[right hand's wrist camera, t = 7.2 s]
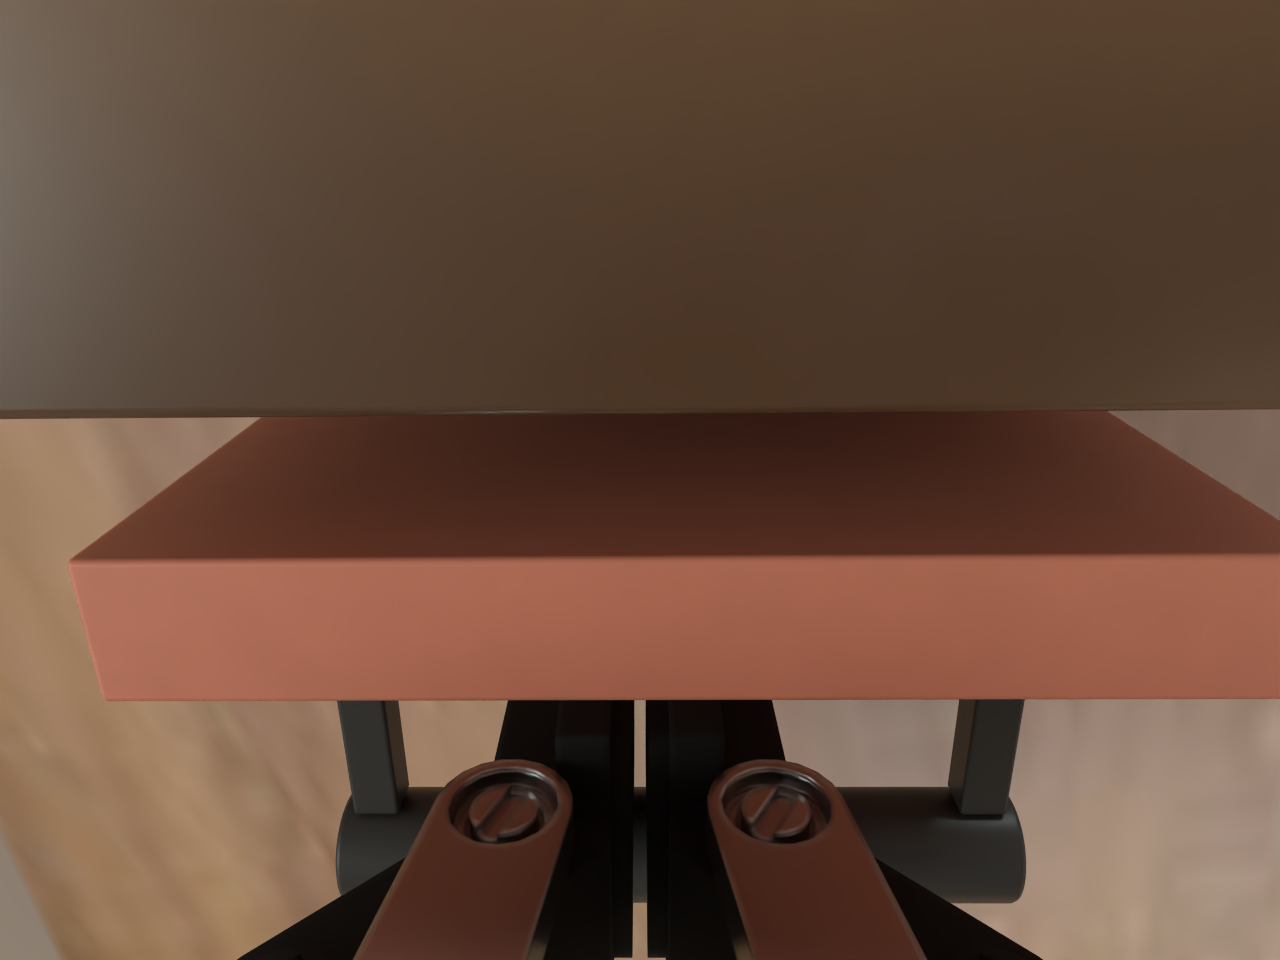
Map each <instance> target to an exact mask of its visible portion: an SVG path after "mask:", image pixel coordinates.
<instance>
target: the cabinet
mask: <svg viewBox="0 0 1280 960" xmlns="http://www.w3.org/2000/svg"><path fill="white" fill-rule="evenodd" d="M1241 409H1280V0H0V419H70V418H200V417H330V416H460V415H590V414H720V413H851V412H981V411H1111V410H1241Z"/></svg>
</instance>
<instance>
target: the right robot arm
mask: <svg viewBox="0 0 1280 960" xmlns="http://www.w3.org/2000/svg"><path fill="white" fill-rule="evenodd" d="M633 836H634V700H508V703H507V708H506V712H505V716H504V721H503V725H502V730H501V734H500V738H499V743H498V747H497V752H496V756H495V760H494V761H493V762H488V763H483V764H480V765H478V766H475V767H473V768H471V769H468V770H466V771H464V772H462V773H461V774H459V775H458V776H457V777H455V778H454V779H453V780H451V781H450V782H449V783H447V785H446V786H445V787H444V789H443V790H442V791H441V793H440V794H439V795H438V797H437V798H436V800H435V802H434V804H433V806H432V808H431V810H430V812H429V814H428V816H427V818H426V819H425V821H424V823H423V825H422V827H421V829H420V831H419V833H418V835H417V837H416V839H415V841H414V843H413V845H412V846H411V848H410V850H409V852H408V854H407V856H406V857H405V858H403V859H402V860H400V861H398V862H397V863H395V864H393V865H392V866H390V867H389V868H387V869H385V870H384V871H382V872H380V873H379V874H377V875H375V876H374V877H372V878H370V879H369V880H367V881H365V882H364V883H362V884H360V885H359V886H357V887H355V888H354V889H352V890H351V891H349V892H347V893H346V894H344V895H342V896H341V897H339V898H337V899H336V900H334V901H332V902H331V903H329V904H327V905H326V906H324V907H322V908H321V909H319V910H318V911H316V912H314V913H313V914H311V915H309V916H308V917H306V918H304V919H303V920H301V921H299V922H298V923H296V924H294V925H293V926H291V927H289V928H288V929H286V930H284V931H283V932H281V933H280V934H278V935H276V936H275V937H273V938H271V939H270V940H268V941H266V942H265V943H263V944H261V945H260V946H258V947H256V948H255V949H253V950H251V951H250V952H248V953H246V954H245V955H243V956H242V957H240V958H239V959H237V960H614V958H632V945H633ZM646 836H647V945H648V958H666V960H1043V959H1041V958H1040V957H1038V956H1037V955H1035V954H1034V953H1032V952H1030V951H1029V950H1027V949H1025V948H1024V947H1022V946H1020V945H1019V944H1017V943H1015V942H1014V941H1012V940H1010V939H1009V938H1007V937H1005V936H1004V935H1002V934H1000V933H999V932H997V931H996V930H994V929H992V928H991V927H989V926H987V925H986V924H984V923H982V922H981V921H979V920H977V919H976V918H974V917H972V916H971V915H969V914H967V913H966V912H964V911H962V910H961V909H959V908H958V907H956V906H954V905H953V904H951V903H949V902H948V901H946V900H944V899H943V898H941V897H939V896H938V895H936V894H934V893H933V892H931V891H929V890H928V889H926V888H925V887H923V886H921V885H920V884H918V883H916V882H915V881H913V880H911V879H910V878H908V877H906V876H905V875H903V874H901V873H900V872H898V871H896V870H895V869H893V868H891V867H890V866H888V865H887V864H885V863H883V862H882V861H880V860H878V859H877V858H875V857H874V856H873V854H872V852H871V850H870V848H869V846H868V845H867V843H866V841H865V839H864V837H863V835H862V833H861V831H860V829H859V827H858V825H857V823H856V821H855V819H854V818H853V816H852V814H851V812H850V810H849V808H848V806H847V804H846V802H845V800H844V798H843V797H842V795H841V794H840V793H839V791H838V790H837V789H836V787H835V786H834V785H833V783H831V782H830V781H829V780H827V779H826V778H825V777H823V776H822V775H821V774H819V773H818V772H816V771H814V770H812V769H809V768H807V767H805V766H802V765H800V764H797V763H792V762H787V761H786V760H785V756H784V752H783V747H782V743H781V738H780V734H779V730H778V725H777V721H776V716H775V712H774V708H773V703H772V700H646Z"/></svg>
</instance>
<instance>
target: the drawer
mask: <svg viewBox="0 0 1280 960" xmlns="http://www.w3.org/2000/svg"><path fill="white" fill-rule="evenodd" d="M68 570H69V574H70V578H71V581H72V585H73V589H74V593H75V596H76V600H77V604H78V608H79V611H80V615H81V619H82V622H83V626H84V630H85V634H86V637H87V641H88V645H89V649H90V652H91V656H92V660H93V663H94V667H95V671H96V675H97V678H98V682H99V686H100V690H101V693H102V697H103V698H104V699H105V700H107V701H337V702H338V709H339V715H340V721H341V728H342V734H343V740H344V747H345V753H346V760H347V766H348V772H349V779H350V785H351V791H352V795H351V796H350V798H349V800H348V802H347V804H346V807H345V810H344V813H343V816H342V819H341V823H340V827H339V833H338V839H337V847H336V876H337V883H338V888H339V891H340V894H341V896H342V895H344V894H346V893H347V892H349V891H351V890H352V889H354V888H355V887H357V886H359V885H360V884H362V883H364V882H365V881H367V880H369V879H370V878H372V877H374V876H375V875H377V874H379V873H380V872H382V871H384V870H385V869H387V868H389V867H390V866H392V865H393V864H395V863H397V862H398V861H400V860H402V859H403V858H405V857H406V856H407V854H408V852H409V850H410V848H411V846H412V845H413V843H414V841H415V839H416V837H417V835H418V833H419V831H420V829H421V827H422V825H423V823H424V821H425V819H426V818H427V816H428V814H429V812H430V810H431V808H432V806H433V804H434V802H435V800H436V798H437V797H438V795H439V794H440V793H441V791H442V790H443V789H444V787H408V786H409V781H408V773H407V766H406V758H405V750H404V742H403V735H402V727H401V719H400V711H399V704H398V700H874V699H959V706H958V714H957V721H956V728H955V736H954V743H953V750H952V758H951V765H950V773H949V780H948V786H949V787H836V789H837V790H838V791H839V793H840V794H841V795H842V797H843V798H844V800H845V802H846V804H847V806H848V808H849V810H850V812H851V814H852V816H853V818H854V819H855V821H856V823H857V825H858V827H859V829H860V831H861V833H862V835H863V837H864V839H865V841H866V843H867V845H868V846H869V848H870V850H871V852H872V854H873V856H874V857H875V858H877V859H878V860H880V861H882V862H883V863H885V864H887V865H888V866H890V867H891V868H893V869H895V870H896V871H898V872H900V873H901V874H903V875H905V876H906V877H908V878H910V879H911V880H913V881H915V882H916V883H918V884H920V885H921V886H923V887H925V888H926V889H928V890H929V891H931V892H933V893H934V894H936V895H938V896H939V897H941V898H943V899H944V900H946V901H948V902H949V903H1013V902H1015V901H1017V900H1018V899H1019V898H1020V897H1021V895H1022V892H1023V889H1024V885H1025V877H1026V853H1025V844H1024V838H1023V833H1022V829H1021V825H1020V821H1019V818H1018V815H1017V812H1016V810H1015V807H1014V805H1013V803H1012V801H1011V799H1010V798H1009V790H1010V784H1011V778H1012V772H1013V766H1014V760H1015V754H1016V748H1017V742H1018V736H1019V730H1020V724H1021V718H1022V712H1023V706H1024V700H1025V699H1280V521H1279V520H1278V519H1276V518H1274V517H1273V516H1271V515H1270V514H1268V513H1267V512H1265V511H1263V510H1262V509H1260V508H1259V507H1257V506H1255V505H1254V504H1252V503H1251V502H1249V501H1248V500H1246V499H1244V498H1243V497H1241V496H1240V495H1238V494H1237V493H1235V492H1233V491H1232V490H1230V489H1229V488H1227V487H1226V486H1224V485H1222V484H1221V483H1219V482H1218V481H1216V480H1214V479H1213V478H1211V477H1210V476H1208V475H1207V474H1205V473H1203V472H1202V471H1200V470H1199V469H1197V468H1196V467H1194V466H1192V465H1191V464H1189V463H1188V462H1186V461H1185V460H1183V459H1181V458H1180V457H1178V456H1177V455H1175V454H1173V453H1172V452H1170V451H1169V450H1167V449H1166V448H1164V447H1162V446H1161V445H1159V444H1158V443H1156V442H1155V441H1153V440H1151V439H1150V438H1148V437H1147V436H1145V435H1144V434H1142V433H1140V432H1139V431H1137V430H1136V429H1134V428H1133V427H1131V426H1129V425H1128V424H1126V423H1125V422H1123V421H1121V420H1120V419H1118V418H1117V417H1115V416H1114V415H1112V414H1110V413H1109V412H1107V411H981V412H851V413H720V414H590V415H460V416H330V417H261V418H259V419H258V420H257V421H255V422H254V423H253V424H251V425H250V426H249V427H247V428H246V429H245V430H243V431H242V432H241V433H239V434H238V435H237V436H235V437H234V438H233V439H231V440H230V441H229V442H227V443H226V444H225V445H223V446H222V447H221V448H219V449H218V450H216V451H215V452H214V453H212V454H211V455H210V456H208V457H207V458H206V459H204V460H203V461H202V462H200V463H199V464H198V465H196V466H195V467H194V468H192V469H191V470H190V471H188V472H187V473H186V474H184V475H183V476H182V477H180V478H179V479H178V480H176V481H175V482H174V483H172V484H171V485H169V486H168V487H167V488H165V489H164V490H163V491H161V492H160V493H159V494H157V495H156V496H155V497H153V498H152V499H151V500H149V501H148V502H147V503H145V504H144V505H143V506H141V507H140V508H139V509H137V510H136V511H135V512H133V513H132V514H131V515H129V516H128V517H127V518H125V519H124V520H122V521H121V522H120V523H118V524H117V525H116V526H114V527H113V528H112V529H110V530H109V531H108V532H106V533H105V534H104V535H102V536H101V537H100V538H98V539H97V540H96V541H94V542H93V543H92V544H90V545H89V546H88V547H86V548H85V549H84V550H82V551H81V552H80V553H78V554H77V555H75V556H74V557H73V558H71V559H70V560H69V562H68ZM633 903H647V836H646V787H634V836H633Z"/></svg>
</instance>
